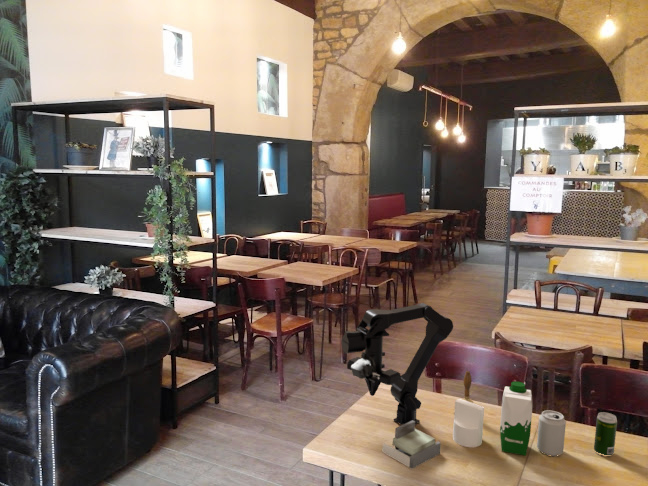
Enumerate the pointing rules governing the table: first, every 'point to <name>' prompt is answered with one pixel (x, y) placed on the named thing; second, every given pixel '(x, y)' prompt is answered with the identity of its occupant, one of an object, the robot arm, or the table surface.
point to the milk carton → (516, 418)
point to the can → (551, 433)
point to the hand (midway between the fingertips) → (372, 395)
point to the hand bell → (467, 386)
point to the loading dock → (413, 459)
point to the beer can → (605, 433)
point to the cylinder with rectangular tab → (468, 423)
